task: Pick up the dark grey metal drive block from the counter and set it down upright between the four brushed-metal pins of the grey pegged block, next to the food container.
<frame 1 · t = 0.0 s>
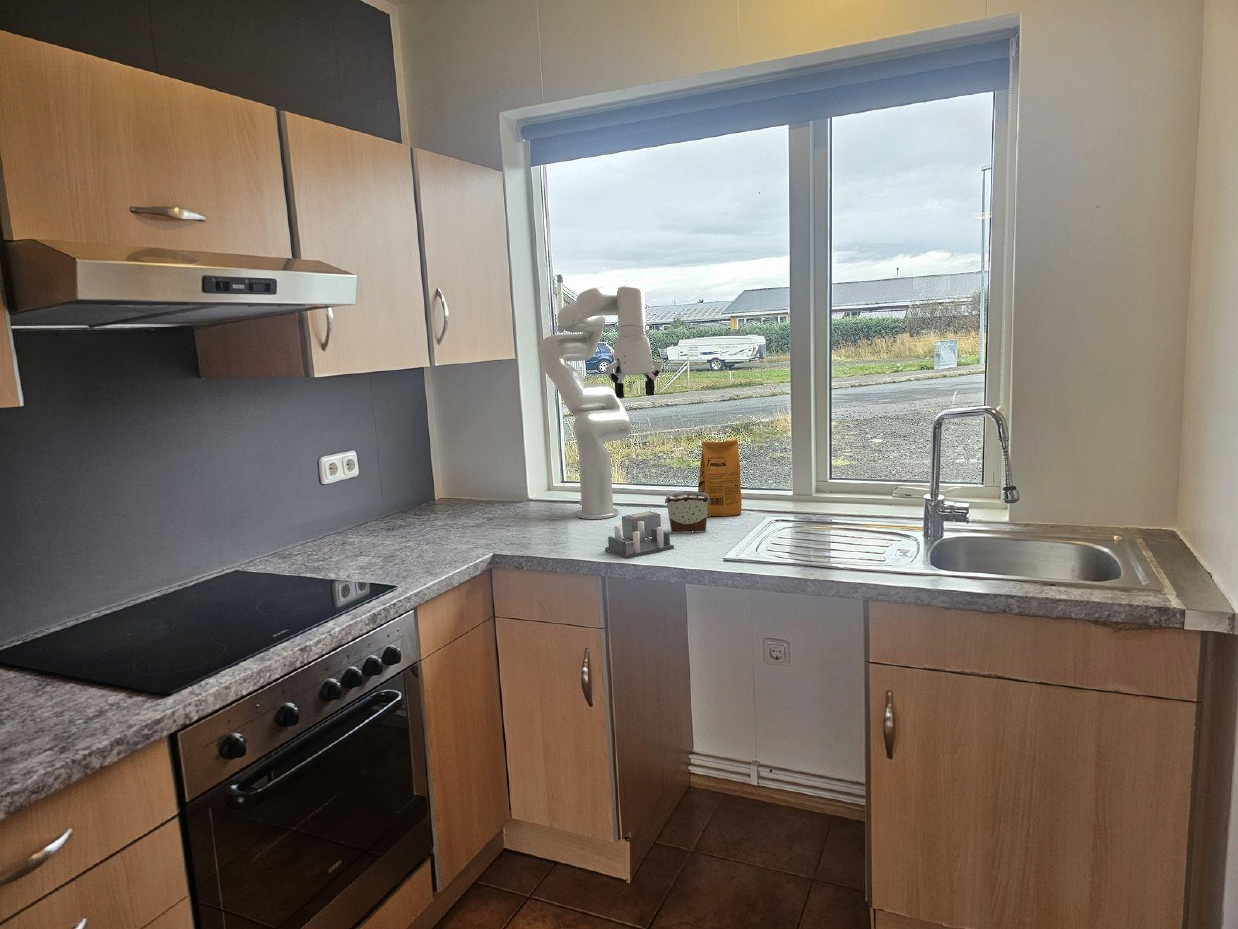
hand: (635, 396, 219), 37 cm above the worktop, tool pointing down, fingers open, 9 cm apart
coffee package: (720, 514, 239), on the worktop
grey pegged block: (639, 549, 202), on the worktop
drive: (642, 537, 215), on the worktop
food container: (688, 530, 221), on the worktop
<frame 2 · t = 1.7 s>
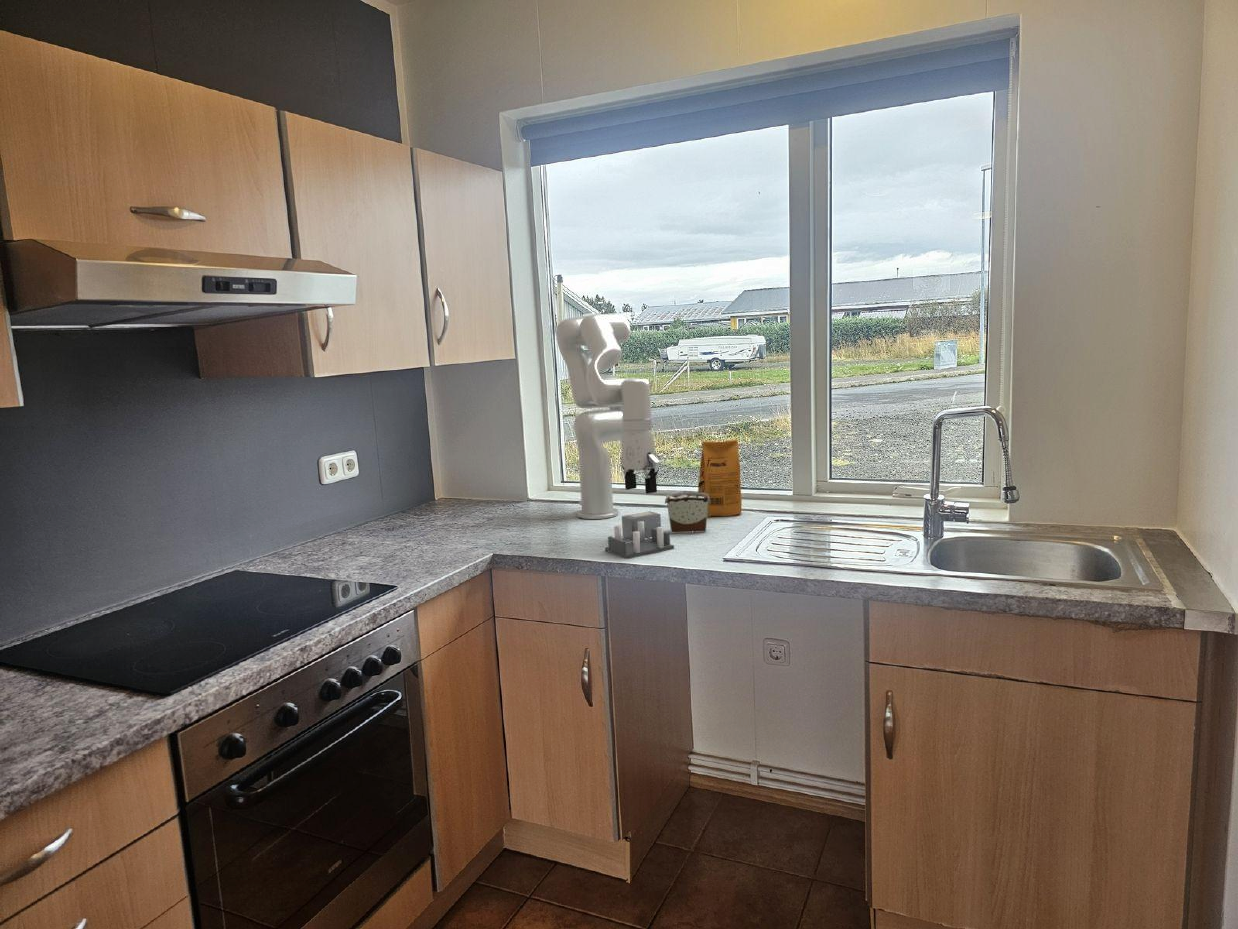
hand: (640, 490, 213), 13 cm above the worktop, tool pointing down, fingers open, 9 cm apart
nothing on the worktop moved.
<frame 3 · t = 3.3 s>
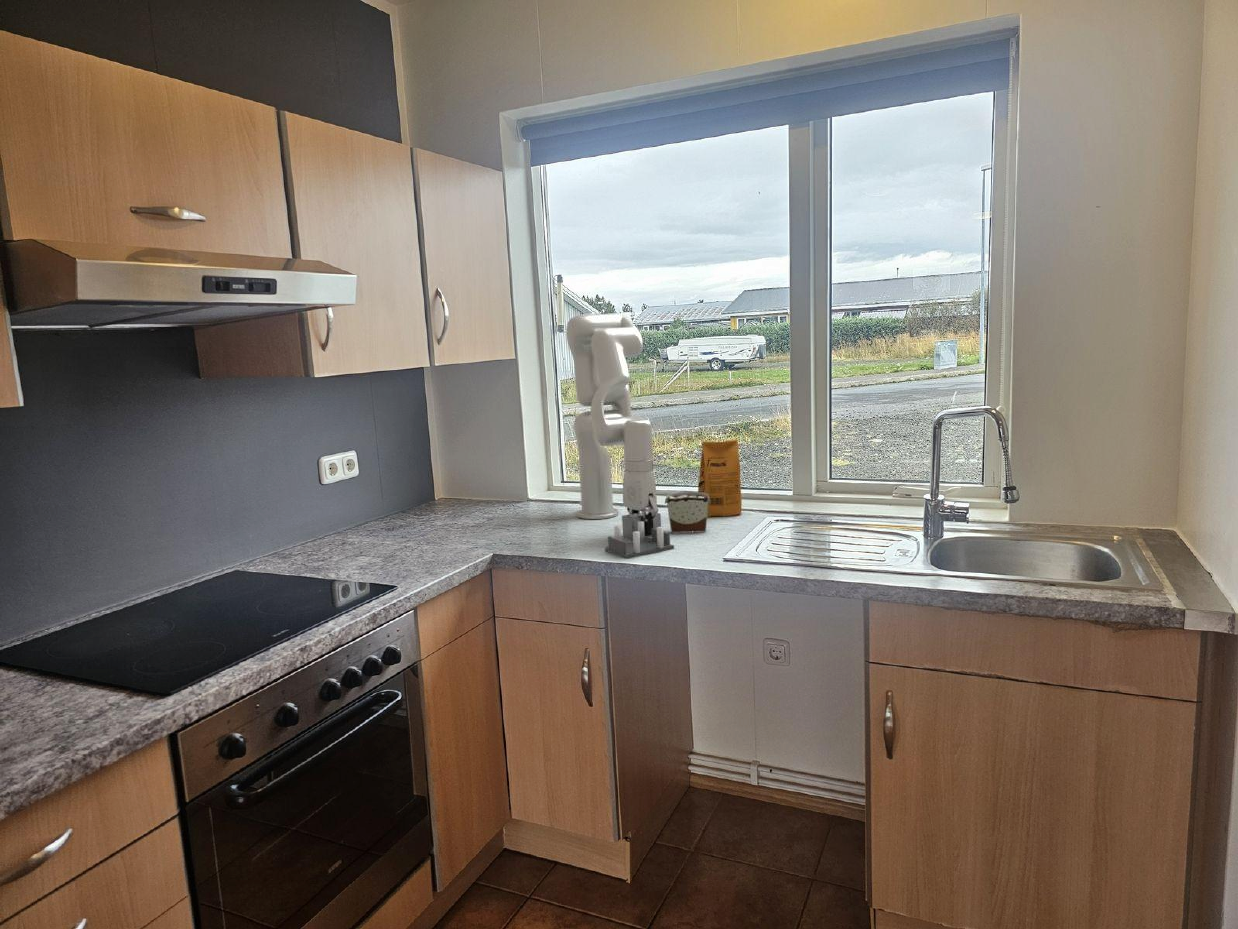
hand: (642, 532, 215), 1 cm above the worktop, tool pointing down, fingers closed on drive, 5 cm apart
drive: (642, 536, 215), on the worktop, touching gripper
everything else where it was.
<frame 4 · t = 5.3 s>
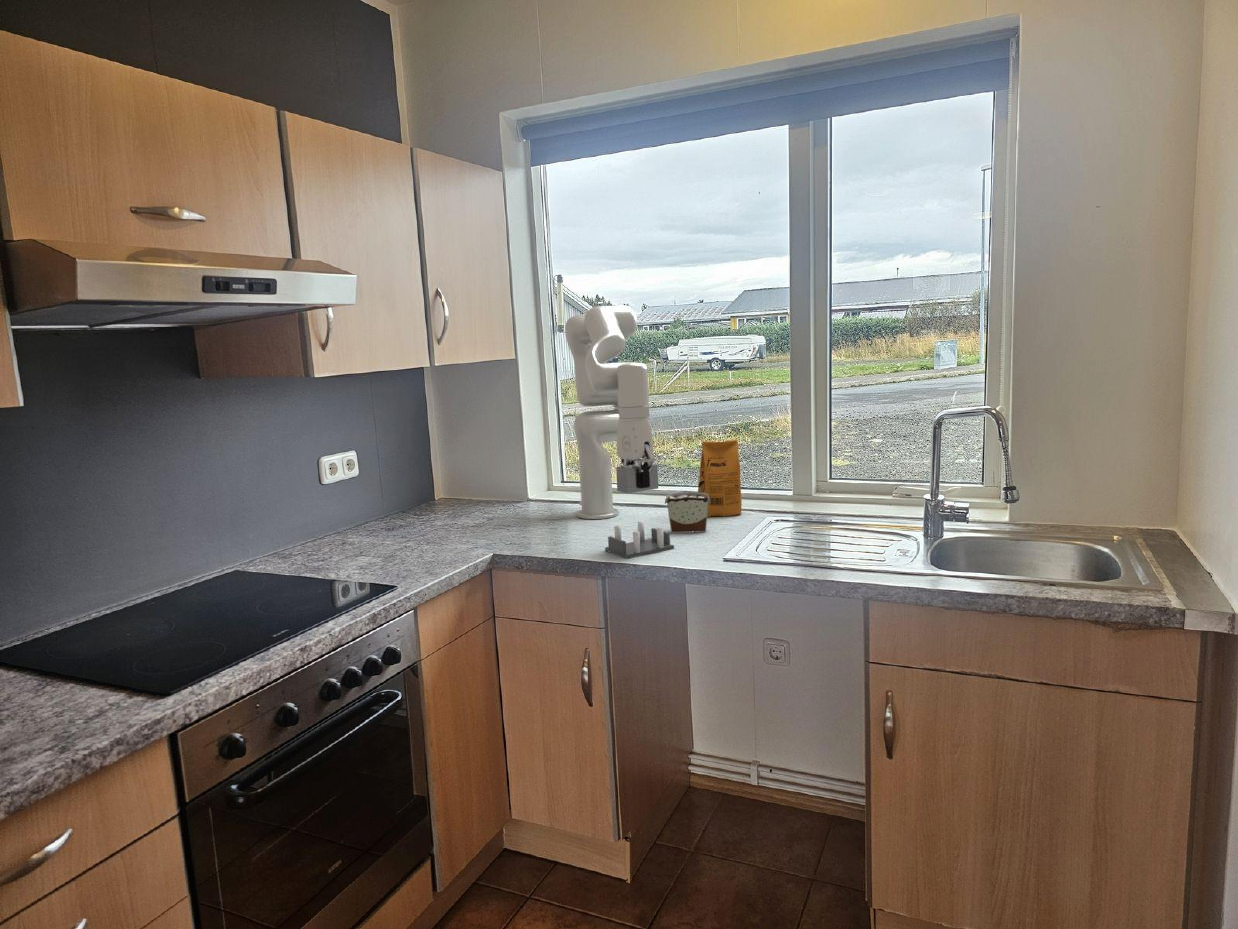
hand: (637, 485, 201), 16 cm above the worktop, tool pointing down, fingers closed on drive, 5 cm apart
drive: (637, 489, 201), point 15 cm above the worktop, touching gripper
everything else where it was.
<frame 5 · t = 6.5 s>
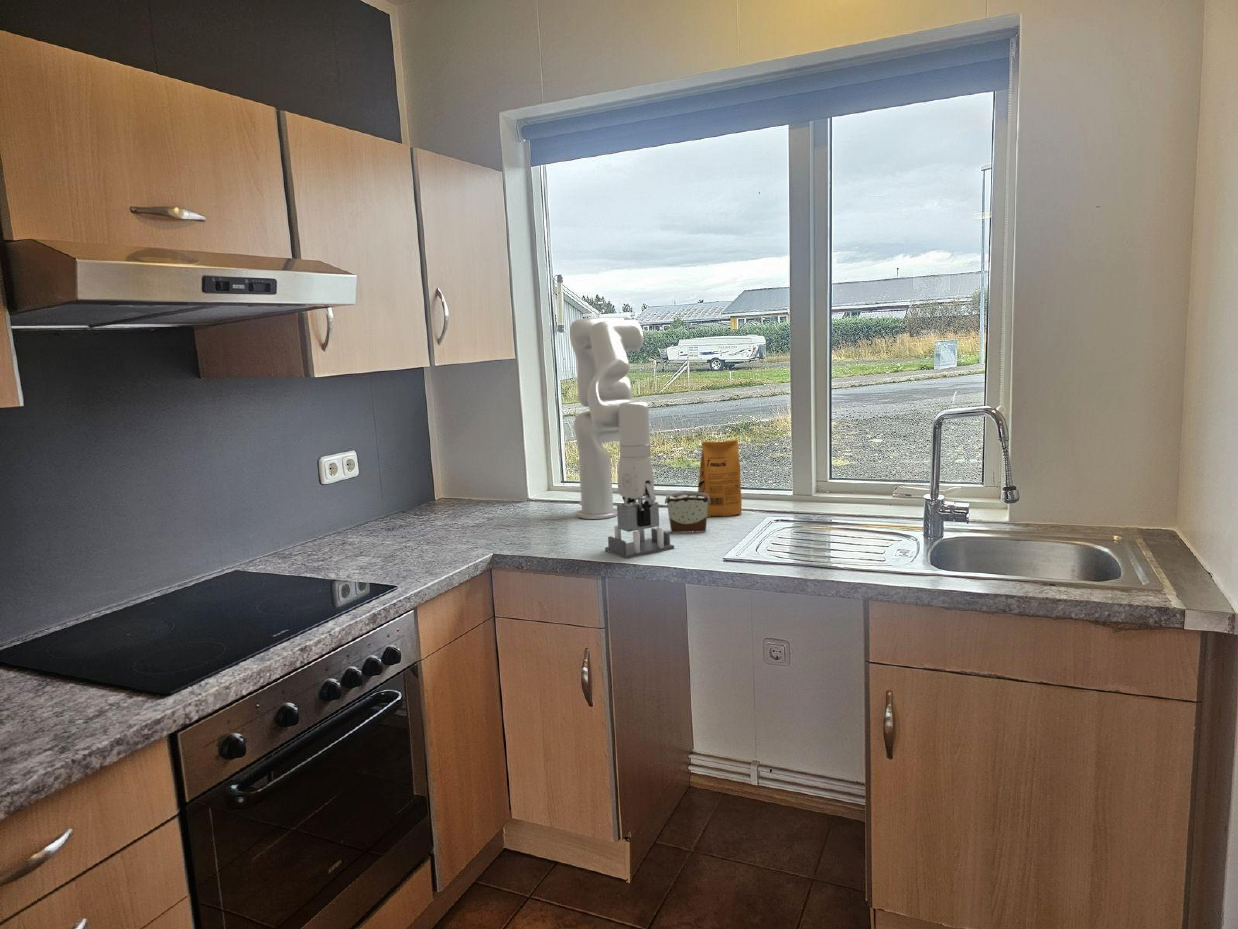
hand: (638, 523, 201), 7 cm above the worktop, tool pointing down, fingers closed on drive, 5 cm apart
drive: (638, 527, 201), point 6 cm above the worktop, touching gripper
everything else where it was.
when the fingers open (3 cm above the worktop, at t = 7.4 s): drive drops 1 cm, resting on grey pegged block.
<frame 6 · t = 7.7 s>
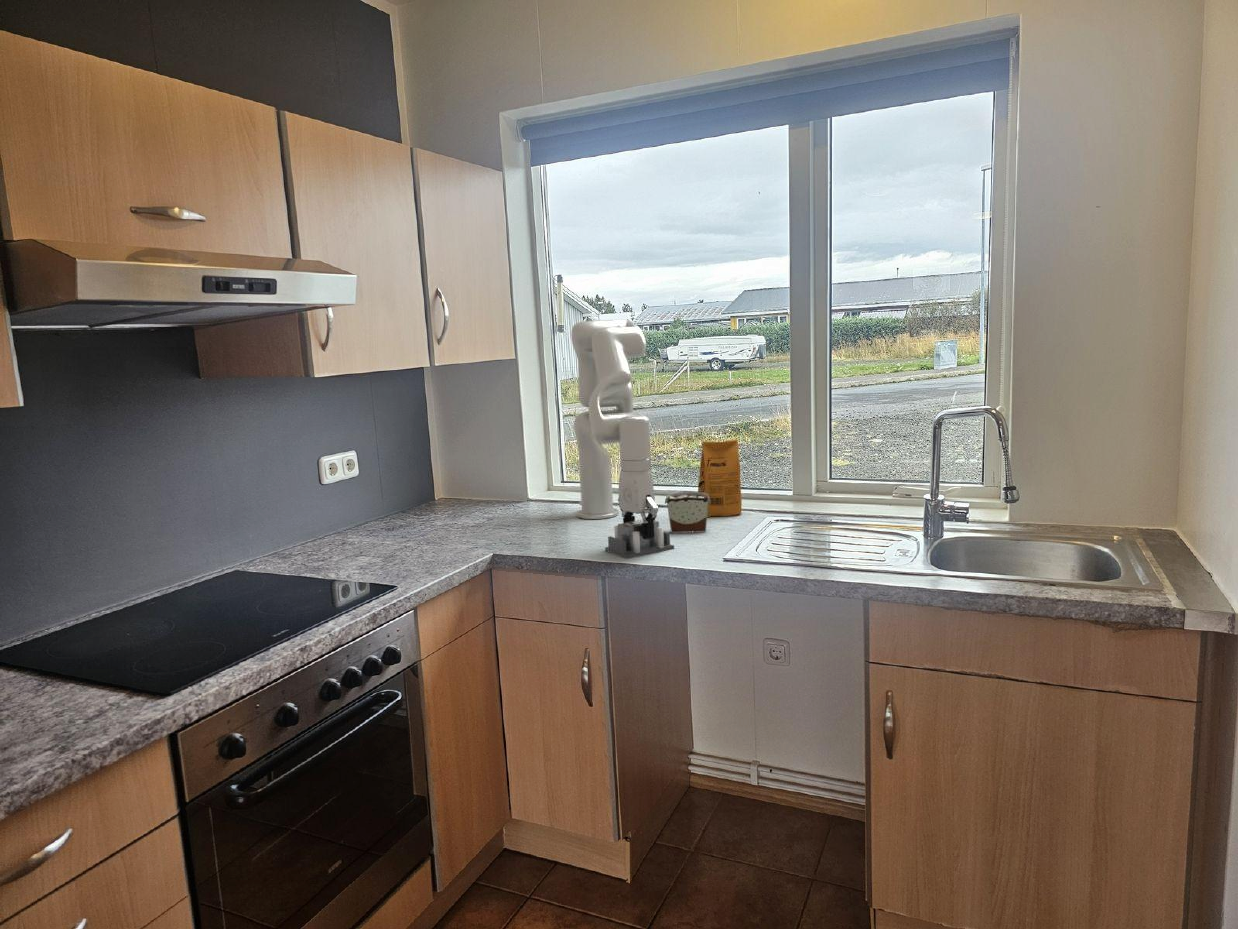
hand: (638, 534, 201), 4 cm above the worktop, tool pointing down, fingers open, 8 cm apart
drive: (639, 546, 202), point 1 cm above the worktop, touching grey pegged block
everything else where it was.
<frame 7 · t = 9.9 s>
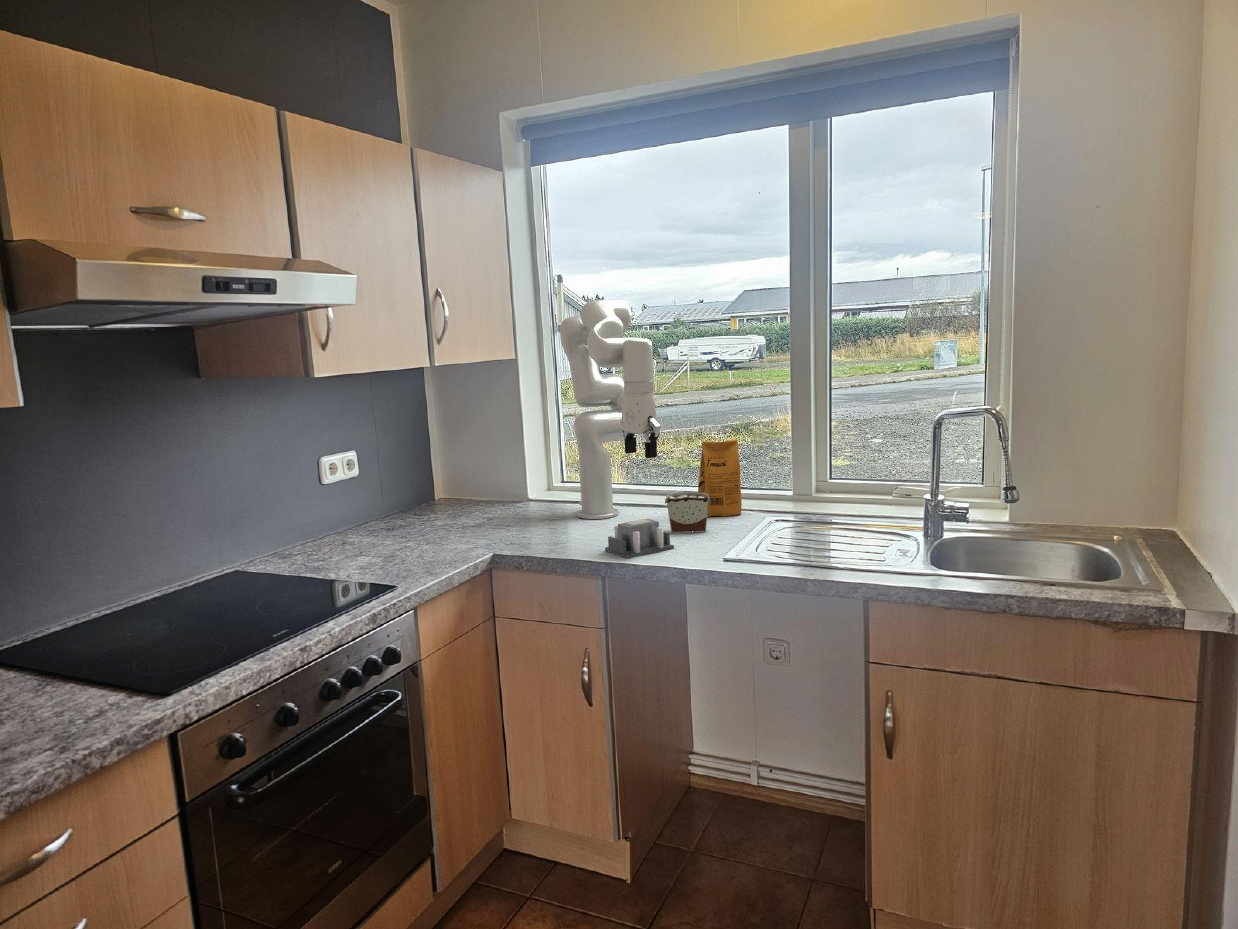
hand: (640, 455, 206), 23 cm above the worktop, tool pointing down, fingers open, 9 cm apart
nothing on the worktop moved.
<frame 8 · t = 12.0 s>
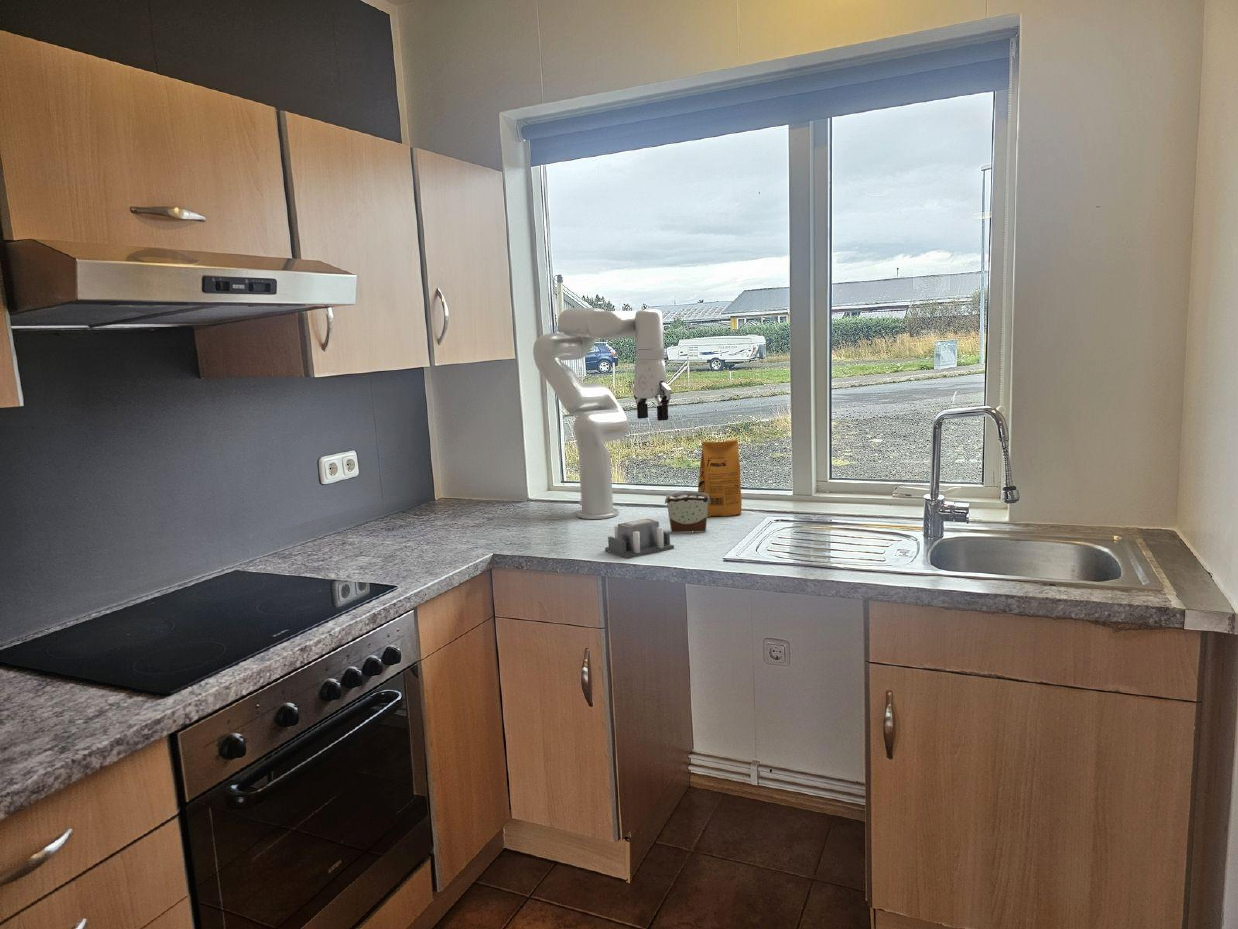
hand: (652, 419, 220), 30 cm above the worktop, tool pointing down, fingers open, 9 cm apart
nothing on the worktop moved.
at the end: drive 0.2 cm off-centre on the grey pegged block, point 0.8 cm above the grey pegged block's base; drive tilted 0°; the gripper is holding nothing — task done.
